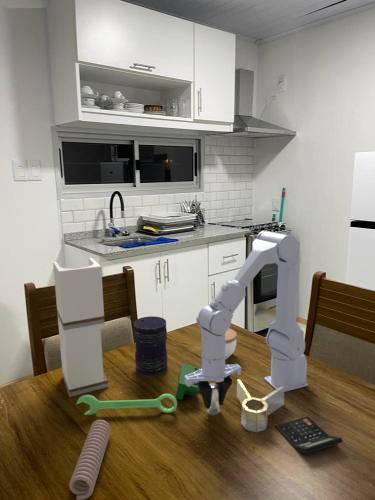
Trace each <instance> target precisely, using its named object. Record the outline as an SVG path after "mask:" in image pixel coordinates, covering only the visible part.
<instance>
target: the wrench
mask: <svg viewBox="0 0 375 500" xmlns="http://www.w3.org/2000/svg"><path fill="white" fill-rule="evenodd" d="M166 398H167V399H170V401H172V402H173V406H172V407H170V408H168V407H165V406H164V405H162V400H163V399H166ZM81 403H85V404H86V405H89V410H87V411H85V412H84V416H92V415H94V414H96V412H97V411H98V410H101V409H103V410H105V409H106V410H107V409H131V408H133V409H136V408H137V409H139V408H157V409H159V410H160V411H161V412H163V413H165V414H170V413H173V412H175V411H176V409H177V406H178V399H176V398H175V396H174V395H173V394H171V393H163V394H161V395H160V396H159V397H157V398H155V399H153V398H151V399H133V400H132V399H130V400H129V399H127V400H125V399H124V400H100V399H99V400H98V399H97V398H96V397H95V396H94V395H91V394H84V395H83V394H82V395H81V396H80V397H79V398H78V399H77V401H76V405H79V404H81Z"/></svg>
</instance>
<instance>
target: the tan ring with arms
mask: <svg viewBox="0 0 375 500" xmlns="http://www.w3.org/2000/svg"><path fill="white" fill-rule="evenodd" d="M236 397H237V400H238V401H239V403H240V405H241V411H240V412H241V416H240V417H241V420H240V423H241V425H242V426H243V428H244V429H245V430H247V431H250V432H253V433H259V432H261V431H265V430H266V428H267V426H268V416H270V415H271V414H273V413H275V411H277V410H279V409H280V408H281V407H283V406H284V404H285V403H284V401H285V392H284V387H283V386H281V387H279V388H278V389H275V390H273V391H271V392H270V393H269V394H267V395H265V396H263V397H262V398H258V397H253V396H251V394H250V393H249V391H248V390H247V388H246V387H245V385H244V383H243V382H242V380H241V378H240V379H237V380H236Z"/></svg>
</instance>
